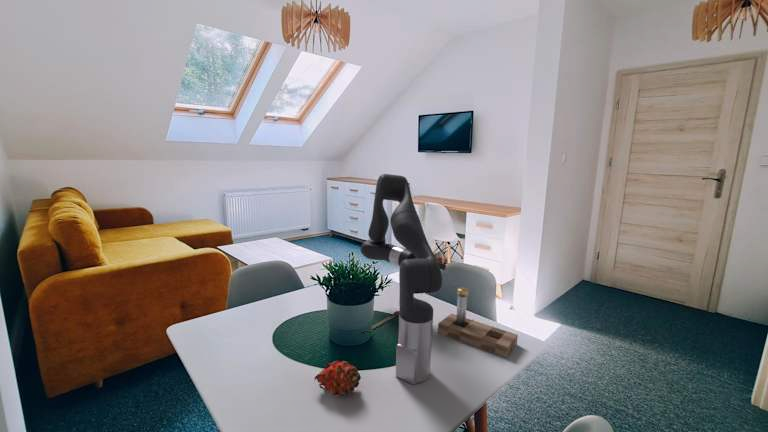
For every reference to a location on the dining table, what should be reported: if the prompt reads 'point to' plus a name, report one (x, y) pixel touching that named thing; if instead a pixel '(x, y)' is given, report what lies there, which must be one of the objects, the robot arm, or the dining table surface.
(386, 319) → the tomahawk
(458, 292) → the gold-capped metal cylinder
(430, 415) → the dining table surface
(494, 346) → the stand
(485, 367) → the dining table surface
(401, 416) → the dining table surface
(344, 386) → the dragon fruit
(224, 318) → the dining table surface
